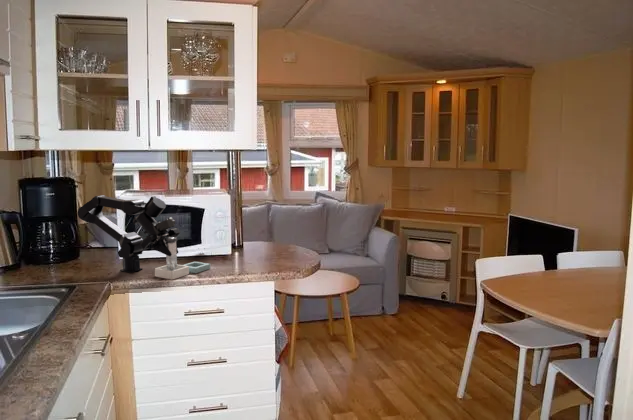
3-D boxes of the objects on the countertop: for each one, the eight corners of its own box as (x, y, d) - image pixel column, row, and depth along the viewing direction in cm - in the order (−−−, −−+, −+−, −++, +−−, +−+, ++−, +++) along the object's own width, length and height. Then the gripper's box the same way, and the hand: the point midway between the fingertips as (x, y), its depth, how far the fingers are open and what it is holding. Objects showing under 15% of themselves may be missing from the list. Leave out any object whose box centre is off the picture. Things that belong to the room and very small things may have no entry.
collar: (180, 270, 212) (180, 265, 211) (194, 266, 219) (194, 261, 219) (195, 273, 208) (195, 268, 207) (210, 268, 215) (210, 263, 215)
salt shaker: (163, 270, 205) (162, 238, 203) (175, 268, 208) (174, 236, 206) (168, 272, 201) (167, 239, 199) (180, 270, 204) (178, 238, 202)
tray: (154, 276, 203) (154, 268, 203) (172, 270, 211) (172, 263, 211) (172, 279, 198) (171, 271, 198) (189, 273, 207) (189, 266, 206)
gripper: (145, 215, 194) (171, 246, 192) (175, 208, 211) (199, 237, 209) (129, 234, 198) (154, 264, 196) (160, 226, 215) (183, 254, 213)
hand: (174, 254), depth 203 cm, fingers closed on salt shaker, 4 cm apart
